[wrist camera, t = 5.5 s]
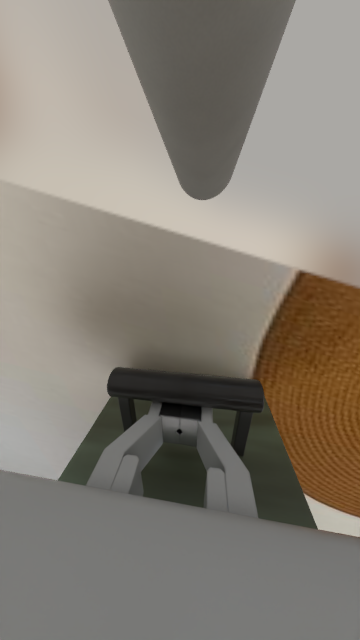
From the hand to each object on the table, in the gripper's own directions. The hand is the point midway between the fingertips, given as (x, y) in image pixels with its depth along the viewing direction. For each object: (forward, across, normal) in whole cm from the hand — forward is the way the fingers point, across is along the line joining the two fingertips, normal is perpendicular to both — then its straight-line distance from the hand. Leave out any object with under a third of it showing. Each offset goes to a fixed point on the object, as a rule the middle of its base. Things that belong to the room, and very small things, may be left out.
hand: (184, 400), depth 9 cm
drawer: (+4, 0, +7) cm, 8 cm away
